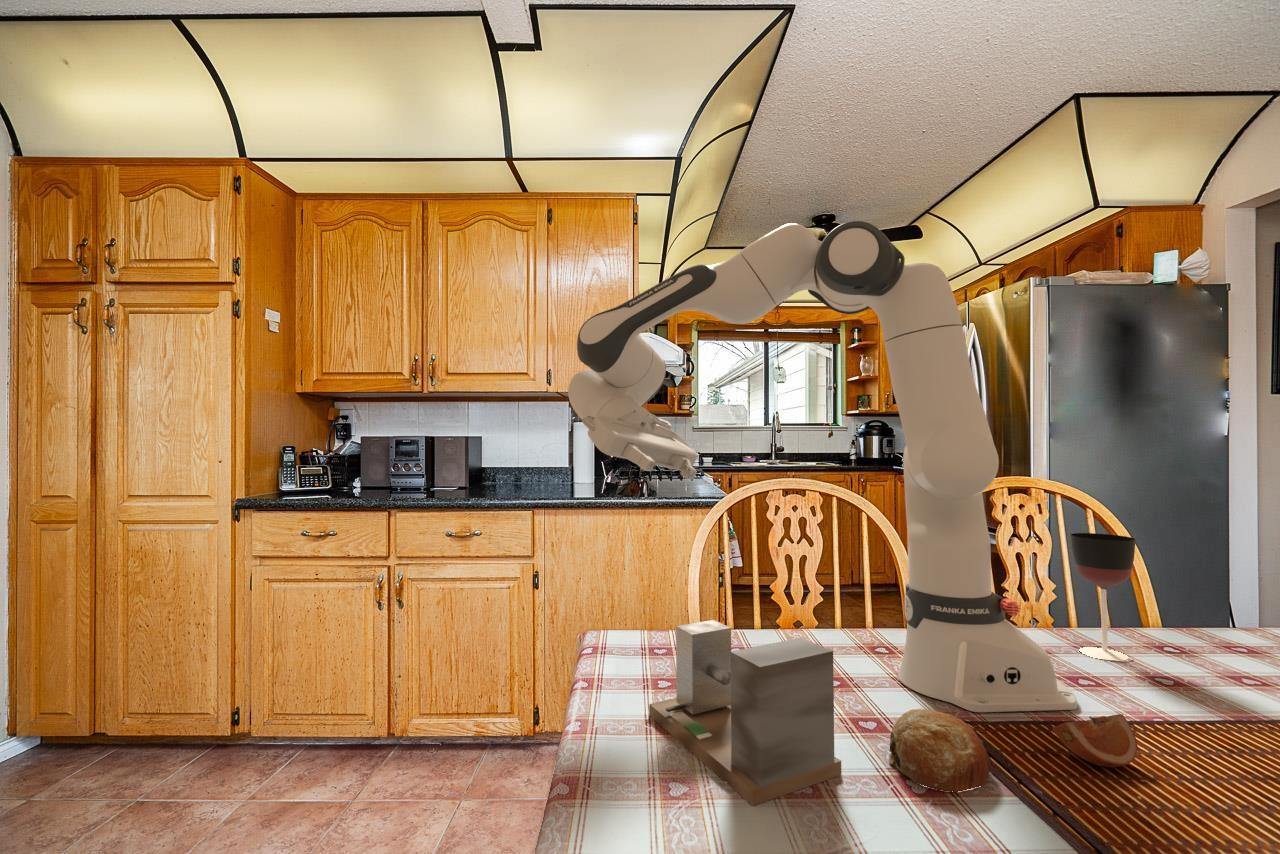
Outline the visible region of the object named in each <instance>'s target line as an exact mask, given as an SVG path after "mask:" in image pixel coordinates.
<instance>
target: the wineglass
mask: <svg viewBox="0 0 1280 854" xmlns="http://www.w3.org/2000/svg"><path fill="white" fill-rule="evenodd" d="M1070 544H1071V552H1072V557H1073V560H1074V565H1075V568H1076V571H1077V573H1078V574H1079V575H1080V576H1081V577H1082V578H1083V579H1084V580H1086V581H1088V582H1089V583H1091V584H1093V585H1095V586H1096V587H1099V588H1100V611H1101V612H1100V616H1101V621H1100V623H1101V647H1099V648H1097V647H1096V646H1082V647H1083V648H1081V647H1079V648H1080V649H1079V651H1080V652H1082V654H1081V655H1083V654H1086V655H1087V657H1088V656H1090V657H1089V658H1091V657H1093V658H1092V659H1095V658H1098V659H1097V660H1099V659H1106V660H1107V659H1108V660H1126V659H1128V658H1129V657H1128V656H1127V655H1128V654H1127V655H1125V654H1126V653H1125V654H1123V653H1124V652H1122V651H1119V650H1115V649H1111V650H1109V648H1108V645H1109V644H1108V609H1107V607H1108V604H1107V603H1108V602H1107V589H1108V588H1109V589H1110V588H1111V587H1115V586H1118V585H1120V584H1122V583H1125V582H1126V581H1127V580H1129V578H1130V577H1131V573H1132V571H1133V570H1132V569H1133V566H1134V561H1135V560H1134V559H1135V551H1136V550H1135V549H1136V538H1134V537H1131V536H1125V535H1118V534H1108V533H1092V532H1075V533H1071V534H1070ZM1114 650H1115V651H1114ZM1079 651H1078V652H1079ZM1118 651H1119V652H1118ZM1080 652H1079V653H1080ZM1121 652H1122V653H1121ZM1086 655H1085V656H1086Z"/></svg>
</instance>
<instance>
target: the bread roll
mask: <svg viewBox="0 0 1280 854" xmlns="http://www.w3.org/2000/svg"><path fill="white" fill-rule="evenodd" d="M892 727H893V728H892V730H891V732H890V737H889V739H890V740H889V741H890V742H889V746H888V747H889V750H888V752H890V754H889V759H888V762H889V764H891V765H892V766H894V767H895V769H897V770H898V771H899V772H900V773H903V774H902V775H904V776H906V777H907V778H909V779H911V780H912V781H913V782H914V783H915V782H917V783H919V784H921V785H924V786H927V787H930V788H934V789H937V790H943V791H950V792H952V791H953V792H958V791H963V790H967V789H971V788H975V787H979V786H982V785H983V786H985V784H986V782H987V781H988V779H989V777H990V772H991V768H992V764H991V761H990V756H989V754H988V752H989V750H987V749H988V748H987V745H986V743H985V742H984V741H983V740H982V739H981V738H980V737H979V736H978V735H977V733H976V732H975V731H974V729H973V728H972V727H971V726H970V725H969V724H967V723H966V722H965V721H964V720H962V719H960V718H959V717H957V716H954V715H952V714H950V713H946V712H944V711H943V712H942V711H935V710H931V709H925V708H916V709H909V710H908V711H906V712H905V713H903V714H901V716H900V717H899V718H898V719H897V721H896V722H895V724H894V725H893V726H892ZM917 783H916V784H917ZM919 784H918V785H919ZM921 785H920V786H921ZM983 786H982V787H983ZM937 790H936V791H937Z"/></svg>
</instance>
